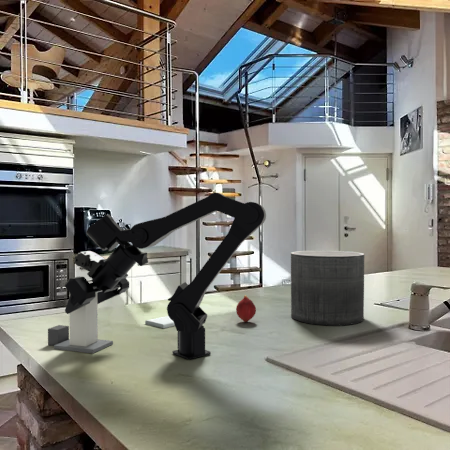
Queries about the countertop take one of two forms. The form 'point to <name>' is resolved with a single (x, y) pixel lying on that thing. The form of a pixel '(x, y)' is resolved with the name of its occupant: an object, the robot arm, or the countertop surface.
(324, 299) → the planter
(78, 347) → the charging dock
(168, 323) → the external hard drive
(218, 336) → the countertop surface
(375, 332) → the countertop surface
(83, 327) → the brick
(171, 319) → the robot arm
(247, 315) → the onion
